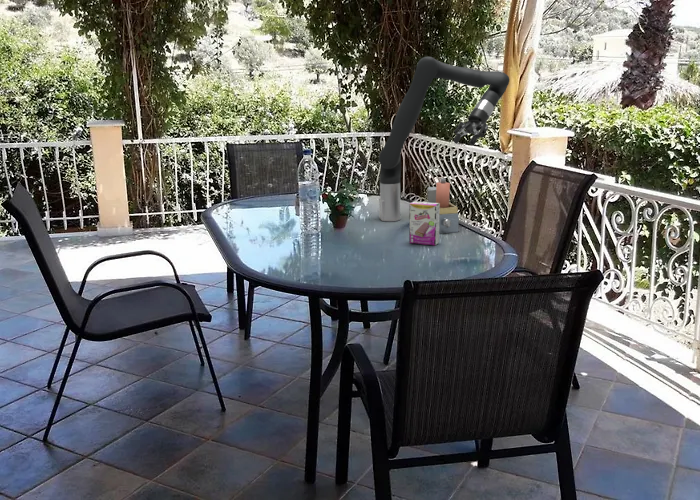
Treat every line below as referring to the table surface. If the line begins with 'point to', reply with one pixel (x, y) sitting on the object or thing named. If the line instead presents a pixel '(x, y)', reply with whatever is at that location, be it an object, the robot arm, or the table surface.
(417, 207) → the candy bar box
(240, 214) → the table surface
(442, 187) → the oil can
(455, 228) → the grey tan open box
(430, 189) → the skincare box
